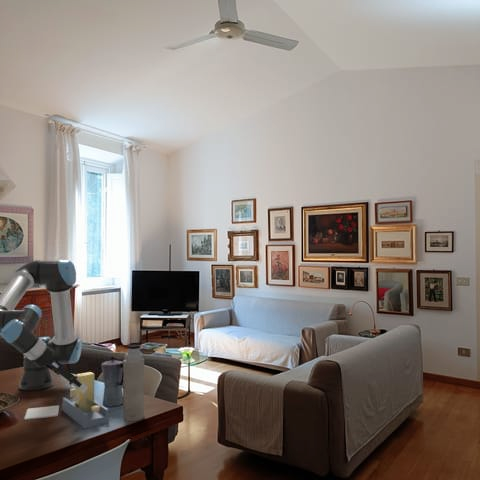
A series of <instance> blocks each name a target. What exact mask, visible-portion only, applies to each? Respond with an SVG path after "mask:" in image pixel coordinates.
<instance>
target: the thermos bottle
mask: <svg viewBox="0 0 480 480" xmlns="http://www.w3.org/2000/svg"><path fill="white" fill-rule="evenodd" d="M143 357H144V356H143V353H142V352H141V344H129V345H127V352H126V353H125V355H124V358H125V359H123V360H122V362H123V385H122V393H123V404H122V420H124V421H127V422H133V421H134V422H136V421H139V420H143V418H144V417H145V398H144V394H145V359H144V358H143Z"/></svg>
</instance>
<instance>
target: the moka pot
mask: <svg viewBox="0 0 480 480" xmlns="http://www.w3.org/2000/svg"><path fill="white" fill-rule="evenodd" d="M100 367H101V372H102V373H101V374H102V379H103V380H102V381H103V382H104V383H103V384H104V385H103V386H104V388H103V397H102V405H103V406H104V407H116V406H122V405H123V360H115V356H111V357H110V360H108V361H103V362H102V363H101V364H100Z"/></svg>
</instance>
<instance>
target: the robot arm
mask: <svg viewBox="0 0 480 480" xmlns="http://www.w3.org/2000/svg"><path fill="white" fill-rule="evenodd" d="M76 281H77V271H76V266H75V265H74V263H73V262H72V261H71V260H68V259H37V260H32V261H29V262H26V263H25V264H23V265H22V266H20V267H19V268H18V269H16V270H15V271H14V273H13V274H12V275H11V278H10V282H9V283H8V284H7V285H6V286H5V288H4V290H2V292H1V293H0V336H1V337H2V338H3V339H4V340H5V341H6V343H8V344H10V345H11V346H12V347H14V348H15V349H16V350H17V351H18V352H20V353H21V354H22V355H23V372H22V375H21V377H20V381H19V383H18V385H19V387H18V389H19V390H22V391H37V390H43V389H44V390H45V389H47V388H49V387H52V386H53V385H54V377H53V375H52V371H53V372H54V373H55V374H56V375H58V376H59V377H60V378H61V379H62V380H63V381H64V382H66V383H67V384H68V385H69V386H73V387H74V388H77V389H78V390H79V391H81V392H82V393H84V392H85V391H86V390H87V389H88V387H87V386H86V385H85V384H84V383H82V382H81V381H80V380H79V379H78V378H77V377H76V375H75V374H73V373H72V372H70V371H69V369H67V368H66V367H64V365H65V364H66V365H67V364H68V365H69V364H70V365H71V364H76V363H78V361H79V360H80V357H81V354H82V349H83V348H82V347H83V340H82V339H81V338H78V335H77V333H76V332H75V331H74V324H73V323H74V322H73V320H74V319H73V311H72V301H71V290H72V288H73V287H74V285H75V284H76ZM33 286H45V290H46V291H47V293H50V301H51V312H52V319H53V320H52V321H53V329H54V330H53V331H54V336H53V337H52V339H51V337H50V336H41V337H38V336H37V335H36V334H35V333H34V332H35V331H36V328H37V327H38V325H39V323H40V322H41V318H42V315H43V311H42V309H41V308H40V307H39V306H37V305H35V304H27V305H25V306H24V307H23V308H22V309H15V308H16V307H17V305H18V304H19V302H20V301H21V300H22V298H23V296H25V295H26V292H27V291H28V290H31V289H32V288H33Z"/></svg>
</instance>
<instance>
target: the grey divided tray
mask: <svg viewBox="0 0 480 480" xmlns="http://www.w3.org/2000/svg"><path fill="white" fill-rule="evenodd" d="M75 391H76V387H74V388H72V389H71V388H70V389H69V396H70V398H75ZM109 410H110V409H109V407H107V406H103V404H101V403H100V402H99V401H97V400H95V399H94V406H92V407H91V410H90V411H85V412H84V411H83V410H81V409H80V408H79V407H77V406H76V405H75V401H70V400H69V399H68V398H66V397H63V398H62V411H63V412H64V413H65V414H66V415H67V416H68V417H70V418H71V419H72V420H73V421H75V422H76V423H77V424H79V426H81V427H82V428H83V429H89V428H93V427H96V426H102V425H105V424H109V421H110V420H109V415H110V414H109Z"/></svg>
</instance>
